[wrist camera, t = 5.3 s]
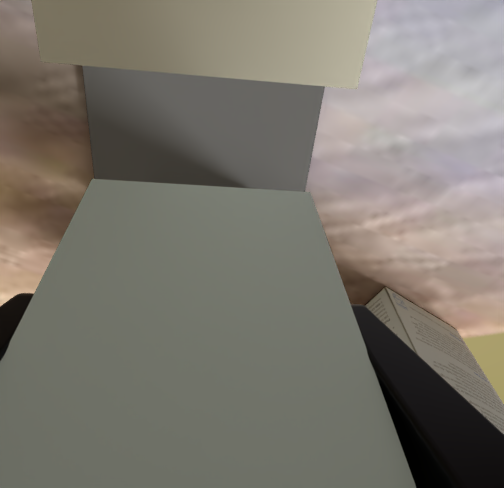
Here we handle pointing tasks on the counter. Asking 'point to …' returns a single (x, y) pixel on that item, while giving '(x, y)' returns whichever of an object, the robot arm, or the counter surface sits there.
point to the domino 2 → (193, 351)
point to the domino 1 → (212, 37)
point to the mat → (200, 129)
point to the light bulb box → (439, 351)
